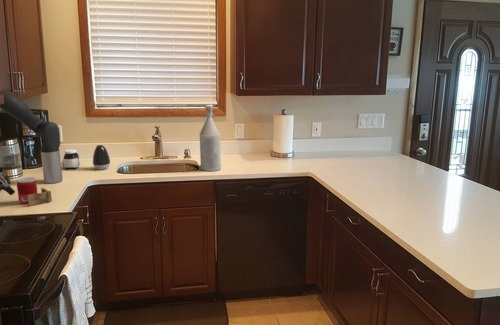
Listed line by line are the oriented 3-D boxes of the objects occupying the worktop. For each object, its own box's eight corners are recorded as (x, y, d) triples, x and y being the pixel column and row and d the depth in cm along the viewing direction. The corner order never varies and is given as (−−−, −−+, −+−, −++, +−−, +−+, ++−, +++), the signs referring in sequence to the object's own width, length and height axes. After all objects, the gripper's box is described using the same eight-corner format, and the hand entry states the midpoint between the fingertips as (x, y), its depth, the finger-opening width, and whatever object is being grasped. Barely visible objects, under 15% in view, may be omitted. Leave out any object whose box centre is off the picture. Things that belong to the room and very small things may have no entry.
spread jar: (74, 170, 254) (73, 151, 252) (56, 170, 254) (54, 151, 252) (83, 166, 266) (81, 148, 263) (65, 166, 266) (63, 148, 263)
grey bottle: (218, 164, 268) (217, 103, 259) (222, 171, 251) (221, 105, 243) (198, 165, 265) (196, 103, 256) (202, 172, 248) (200, 106, 240)
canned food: (41, 201, 194) (38, 179, 192) (23, 205, 188) (20, 182, 186) (34, 198, 199) (31, 176, 196) (16, 202, 193) (13, 179, 191)
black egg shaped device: (106, 166, 265) (104, 142, 261) (113, 169, 257) (111, 145, 254) (90, 168, 258) (88, 144, 255) (96, 171, 251) (94, 147, 247)
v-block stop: (42, 197, 200) (41, 187, 199) (57, 197, 200) (56, 187, 199) (27, 206, 187) (26, 195, 186) (43, 206, 187) (42, 195, 186)
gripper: (-22, 165, 183) (9, 192, 186) (-3, 159, 196) (26, 184, 199) (-31, 177, 185) (-1, 203, 187) (-12, 170, 197) (16, 194, 200)
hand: (13, 193), depth 193 cm, fingers closed
